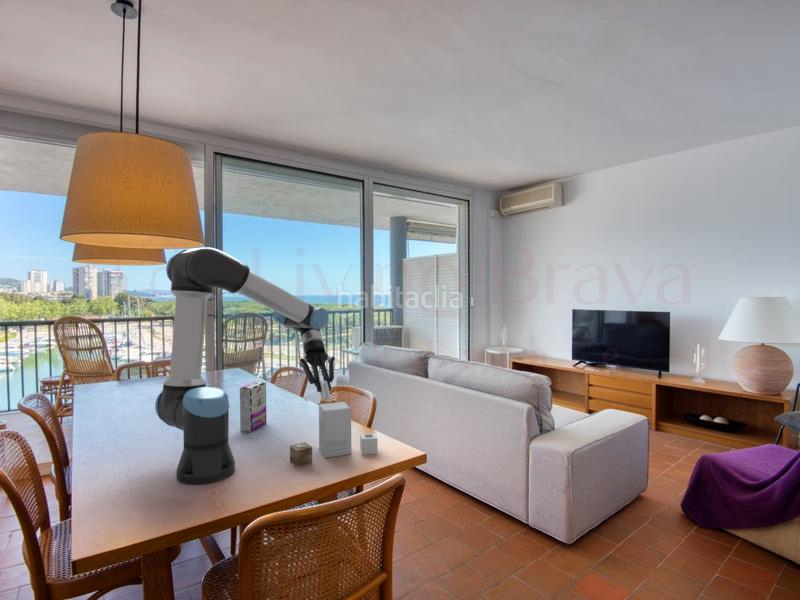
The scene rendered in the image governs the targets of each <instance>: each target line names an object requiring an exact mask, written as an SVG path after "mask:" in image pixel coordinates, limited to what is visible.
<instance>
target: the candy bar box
mask: <svg viewBox="0 0 800 600" xmlns="http://www.w3.org/2000/svg"><path fill="white" fill-rule="evenodd" d="M239 412H240V413H239V415H240V416H239V417H240V423H239V425H240V427H239V428H240V429H239V430H240V432H243V431H247V432H246V433H253V432H254V431H256V430H257V429H259V428H261V427H262V426H264V425H266V424H267V382H266V381H254V382H251V383H249V384H246V385H244V386H241V387H240V388H239Z"/></svg>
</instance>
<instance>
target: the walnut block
mask: <svg viewBox="0 0 800 600" xmlns="http://www.w3.org/2000/svg"><path fill="white" fill-rule="evenodd" d="M289 462H290V463H291V464H292V463H293V464H294V465H293V464H292V465H293V466H295V468H299V467H303V466H306V464H307V465H310V463H311V464H313V446H311V445H310V444H308V443H307V442H300V443H296V444H292V445H291V444H290V445H289ZM298 466H299V467H298Z"/></svg>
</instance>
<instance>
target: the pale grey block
mask: <svg viewBox="0 0 800 600" xmlns="http://www.w3.org/2000/svg"><path fill="white" fill-rule="evenodd" d="M359 450H360V453H361V455H375V454H378V436H377V434H376V433H375V432H374V433H373V432H372V433H360V435H359Z"/></svg>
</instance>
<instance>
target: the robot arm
mask: <svg viewBox="0 0 800 600" xmlns="http://www.w3.org/2000/svg"><path fill="white" fill-rule="evenodd" d="M166 263H167V264H166V270H165V271H166V275H167V278H168V279H169V281H170V282H171V283H170V292H171V294H172V295H173V296H174V297H175V305H174V306H175V307H174V318H173V319H174V320H173V334H172V343H171V345H172V346H171V357H170V369H169V370H170V371H169V376H168V378H166V380H164V381H163V384H162V385H163V386H162V390H161V392H160V393H159V394H158V395H157V396H156V399H155V404H154V409H155V413H156V415H157V417H158V418H159V419H160V421H162V422H163V423H165V424H166V425H167V426H170V427H174V428H176V429H178V430H181V431H183V450H182V452H181V456H180V459H179V462H178V464H177V468H176V481H177V482H179V483H182V484H185V485H193V486H194V485H205V484H211V483H215V482H219V481H221V480H224V479H226V478H228V477H229V476H231V475H232V474H234V472H235V471H236V461H235V458H234V455H233V453H232V452H233V451H232V449H231V447H230V444H229V428H230V427H229V423H230V422H229V419H230V417H229V408H230V402H229V395H228V393H227V392H226V391H225V390H223V389H221V388H218V387H210V386H207V381H206V380H205V379H204V378H203V377H202V368H203V357H204V356H203V354H204V344H205V343H204V342H205V341H204V340H205V331H206V330H205V328H206V317H207V305H208V304H207V303H208V299H209V298H210V297H212V296H213V294H214V288H216V289H221V290H223V291H226V292H228V293H231V294H236V293H238V294H240V295H242V296H244V297H246V298H248V299H250V300H252V301H254V302H256V303H258V304H260V305H263V306H264V307H266V308H268V309H271V310H272V311H273V312H272V318H273V320H274V321H275V322H277V323H278V324H280V325H283V326H285V327H288V328H290V329H292V330H294V331H296V332H299V333H300V338H301V343H302V345H303V351H304V358H300V361H299V366H300V367H301V368H302V370H303V371H304V373H305V375H306V379H308V383H309V384H310V385H314V386H315V387H316V392H317V393H319V394H320V397H321V401H322V402H325V401H327V402H329V401H330V399H331V397H332V395H331V390H332V386H331V383H333V381H334V379H335V370H334V369H335V368H334V366H335V365H334V361H335V358H336V357H335V356H329V355H328V353H327V352H326V348H325V344H324V340H323V336H322V332H321V330H322V329H323V328H325V327H326V326H327V325H328V323H329V320H330V319H329V318H330V317H329V316H330V315H329V313H328V311H327V309H325V308H323V307H319V306H316V307H315V306H313V305H311V304H310V303H307V302H306V301H304V300H302V299H301V298H299V297H297V296H295V295H293V294H291V293H290V292H289V291H286V290H285V289H283V288H282V287H280V286H277V285H276V284H274V283H273V282H271V281H269V280H267V279H266V278H263V277H262V276H260V275H258V274H257V273H255V272H253V271H252V270H251V268H250V266H249V265H248V264H246V263H244V262H242V261H241V260H239V259H238V258H235V257H233V256H232V255H231V254H229V253H226V252H224V251H222V250H220V249H217V248H214V247H199V248H188V249H187V248H186V249H183V250H181V251H177V252H176V253H175V254H172V255H171V257H170V258H169V259H168V261H167V262H166ZM326 361H327V363H328V369H327V366H326ZM309 365H310V366H311V368H310V366H309ZM318 368H319V369H318ZM319 370H320V372H321V376H322V378H323V381H324V382H323V381H322V380H321V378H320V373H319Z"/></svg>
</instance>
